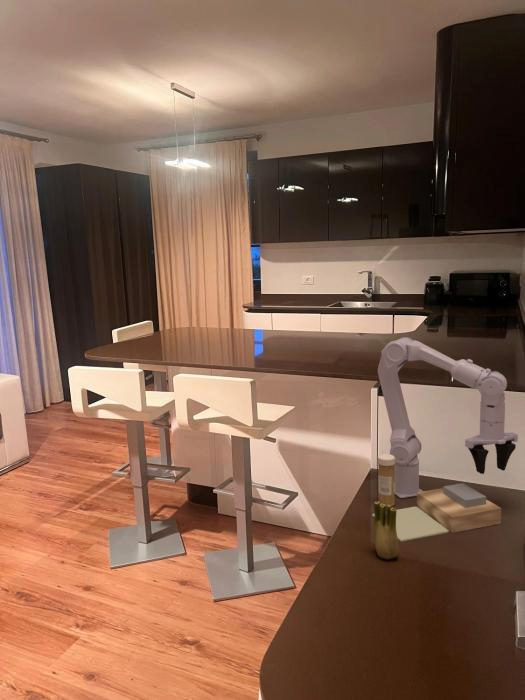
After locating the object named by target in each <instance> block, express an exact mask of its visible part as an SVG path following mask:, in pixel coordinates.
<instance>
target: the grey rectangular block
mask: <svg viewBox="0 0 525 700" xmlns="http://www.w3.org/2000/svg"><path fill="white" fill-rule="evenodd" d="M442 488H443V494H445V495H446V496H448V497H449V498H451V499H452V500H454V501H455V502H457V503H459V504H460V505H462V506H463V507H465V508H469V507H474V506H480V505H485V504H486V499H487V496H486V495H484V494H482V493H480V492H479V491H477V490H475V489H474V488H472V487H470V486H469V485H466V484H465V483H463V482H462V483H456V484H450V485H444V486H443V487H442Z"/></svg>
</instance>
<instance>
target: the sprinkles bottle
mask: <svg viewBox="0 0 525 700" xmlns="http://www.w3.org/2000/svg"><path fill="white" fill-rule="evenodd" d="M377 465H378V466H377V467H378V470H377V471H378V473H377V474H378V477H377V481H378V482H377V484H378V487H377V488H378V489H377V491H378V501H377V502H380V504H385V505H386V507H387V505H388V504H389V505H391V507H393V506H395V504H396V499H395V496H396V494H395V476H394V465H395V457H394V456H393V455H390V453H382V454H379V455H378V456H377Z"/></svg>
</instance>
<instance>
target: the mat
mask: <svg viewBox="0 0 525 700" xmlns="http://www.w3.org/2000/svg"><path fill="white" fill-rule="evenodd" d="M396 511H397V512H396V532H397V537H398V542H401V543H402V542H407V541H412V540H418V539H422V538H427V537H433V536H437V535H443V534H448V533H450V531H449V530H447V529H446V528H445V527H443V526H442V525H441V524H439V523H438V522H437V521H435V520H434V519H433V518H431V517H430V516H429V515H427V514H426V513H425V512H423V511H422V510H420V509H419V508H418V507H417V506H411V507H404V508H400V509H396ZM374 515H375V513H372V514H371V516H372V517H373V518H374Z"/></svg>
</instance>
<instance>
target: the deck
mask: <svg viewBox="0 0 525 700" xmlns="http://www.w3.org/2000/svg"><path fill="white" fill-rule="evenodd" d="M422 491H423V492H417V496H416V507H418V508H419V509H420V510H422V511H423V512H424V513H426V514H427V515H428V516H430V517H431V518H432V519H434V520H435V521H436V522H438V523H439V524H440V525H442V526H443V527H445V528H446V529H447V530H449V533H451V534H454V533H460V532H464V531H470V530H475V529H479V528H485V527H490V526H494V525H500V524H502V507H500V506H498V505H497V504H495V503H494V502H492V501H490V500H488V499H487V498H486V504H485V505H480V506H474V507H469V508H465V507H463V506H462V505H460V504H459V503H457V502H455V501H454V500H452V499H451V498H449V497H448V496H446V495H445V494H443V487H441V488H435V489H430V490H422Z"/></svg>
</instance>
